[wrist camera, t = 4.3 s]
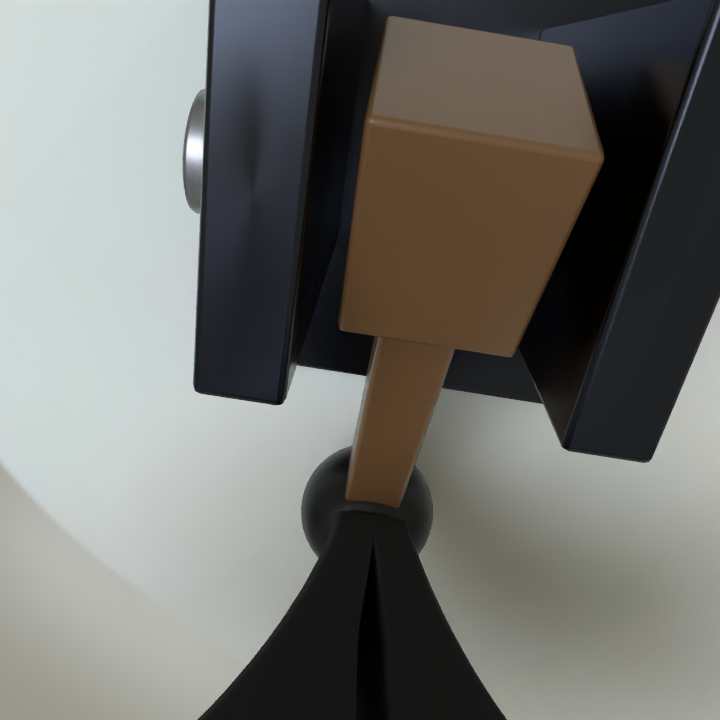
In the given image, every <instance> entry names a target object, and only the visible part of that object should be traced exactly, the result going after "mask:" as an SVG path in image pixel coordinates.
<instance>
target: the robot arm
mask: <svg viewBox="0 0 720 720" xmlns="http://www.w3.org/2000/svg"><path fill="white" fill-rule="evenodd" d="M198 720H507V719H506V718H505V717H504V715H503V714H502V712H501V711H500V709H499V708H498V706H497V705H496V703H495V702H494V701H493V699H492V698H491V696H490V694H489V693H488V691H487V690H486V688H485V687H484V685H483V683H482V682H481V680H480V679H479V677H478V676H477V674H476V672H475V671H474V669H473V667H472V666H471V664H470V662H469V660H468V659H467V657H466V655H465V654H464V652H463V650H462V648H461V646H460V644H459V643H458V641H457V639H456V637H455V635H454V633H453V631H452V630H451V628H450V626H449V624H448V622H447V620H446V618H445V616H444V614H443V612H442V609H441V607H440V605H439V603H438V601H437V599H436V597H435V594H434V592H433V590H432V588H431V586H430V583H429V581H428V579H427V576H426V574H425V571H424V569H423V566H422V564H421V561H420V559H419V556H418V553H417V551H416V548H415V545H414V542H413V539H412V536H411V533H410V529H409V525H408V524H407V523H406V521H405V520H403V519H396V518H390V517H383V516H377V515H370V514H364V513H357V512H350V511H344V510H341V511H339V512H338V513H336V514H335V516H334V522H333V525H332V528H331V531H330V534H329V537H328V539H327V542H326V544H325V546H324V548H323V550H322V553H321V555H320V557H319V559H318V561H317V563H316V564H315V566H314V568H313V570H312V572H311V574H310V575H309V577H308V579H307V581H306V583H305V584H304V586H303V588H302V589H301V591H300V593H299V594H298V596H297V597H296V599H295V600H294V602H293V603H292V605H291V607H290V608H289V610H288V611H287V613H286V614H285V616H284V617H283V619H282V620H281V622H280V623H279V625H278V626H277V627H276V629H275V630H274V632H273V633H272V634H271V636H270V637H269V638H268V640H267V641H266V642H265V644H264V645H263V646H262V647H261V649H260V650H259V651H258V653H257V654H256V655H255V656H254V658H253V659H252V660H251V661H250V663H249V664H248V665H247V666H246V667H245V668H244V670H243V671H242V672H241V673H240V674H239V676H238V677H237V678H236V679H235V680H234V681H233V683H232V684H231V685H230V686H229V687H228V688H227V689H226V691H225V692H224V693H223V694H222V695H221V696H220V697H219V698H218V699H217V700H216V701H215V703H214V704H213V705H212V706H211V707H210V708H209V709H208V710H207V711H206V712H205V713H204V714H203V715H202V716H201V717H200V718H199V719H198Z"/></svg>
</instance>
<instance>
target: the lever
mask: <svg viewBox="0 0 720 720" xmlns="http://www.w3.org/2000/svg"><path fill="white" fill-rule="evenodd" d="M603 162H604V151H603V148H602V144H601V141H600V137H599V134H598V130H597V127H596V123H595V119H594V116H593V112H592V109H591V105H590V102H589V98H588V95H587V91H586V88H585V84H584V80H583V77H582V73H581V70H580V66H579V63H578V59H577V56H576V52H575V49H574V48H572V47H571V46H567V45H561V44H555V43H549V42H543V41H537V40H532V39H526V38H520V37H514V36H508V35H502V34H496V33H490V32H484V31H478V30H472V29H466V28H461V27H455V26H449V25H443V24H437V23H431V22H425V21H419V20H413V19H407V18H401V17H395V16H390V17H387V18H386V20H385V22H384V26H383V31H382V36H381V41H380V46H379V51H378V55H377V60H376V65H375V70H374V75H373V80H372V85H371V90H370V95H369V100H368V105H367V110H366V115H365V120H364V128H363V135H362V143H361V150H360V158H359V166H358V173H357V181H356V188H355V196H354V204H353V211H352V219H351V226H350V234H349V242H348V249H347V257H346V265H345V272H344V280H343V287H342V295H341V303H340V310H339V318H338V326H339V329H340V330H342V331H346V332H352V333H359V334H365V335H371V336H374V341H373V346H372V351H371V356H370V361H369V366H368V371H367V376H366V381H365V386H364V391H363V396H362V401H361V406H360V411H359V416H358V421H357V426H356V431H355V436H354V441H353V446H350V447H347V448H344V449H341V450H339V451H337V452H336V453H334V454H332V455H331V456H329V457H328V458H327V459H325V460H324V461H323V462H322V463H321V464H320V465H319V466H318V467H317V469H316V470H315V471H314V472H313V474H312V476H311V477H310V479H309V481H308V483H307V485H306V488H305V491H304V495H303V499H302V506H301V516H302V525H303V529H304V533H305V536H306V539H307V541H308V543H309V545H310V546H311V548H312V550H313V551H314V553H315V554H316V555H317V556H318V558H319V557H320V555H321V553H322V550H323V548H324V546H325V544H326V542H327V539H328V537H329V534H330V531H331V528H332V525H333V522H334V516H335V514H336V513H338V512H339V511H341V510H344V511H350V512H357V513H364V514H370V515H377V516H383V517H390V518H396V519H403V520H405V521H406V523H407V524H408V525H409V529H410V533H411V536H412V539H413V542H414V545H415V548H416V551H417V553H418V554H419V553H420V552H421V550H422V548H423V547H424V545H425V544H426V541H427V539H428V537H429V534H430V530H431V526H432V519H433V504H432V498H431V494H430V491H429V488H428V485H427V483H426V481H425V479H424V477H423V475H422V474H421V473H420V471H419V470H418V469H417V467H416V466H415V462H416V459H417V457H418V454H419V451H420V448H421V445H422V442H423V439H424V437H425V434H426V431H427V428H428V425H429V422H430V420H431V417H432V414H433V411H434V408H435V405H436V402H437V400H438V397H439V394H440V391H441V388H442V385H443V382H444V380H445V377H446V374H447V371H448V368H449V365H450V362H451V360H452V357H453V354H454V351H455V349H460V350H466V351H472V352H478V353H485V354H491V355H497V356H504V357H512V356H513V355H514V354H515V352H516V350H517V348H518V346H519V344H520V342H521V339H522V337H523V335H524V333H525V331H526V329H527V326H528V324H529V322H530V320H531V318H532V316H533V313H534V311H535V309H536V307H537V305H538V303H539V301H540V298H541V296H542V294H543V292H544V290H545V288H546V285H547V283H548V281H549V279H550V277H551V275H552V272H553V270H554V268H555V266H556V264H557V262H558V259H559V257H560V255H561V253H562V251H563V249H564V247H565V244H566V242H567V240H568V238H569V236H570V234H571V231H572V229H573V227H574V225H575V223H576V221H577V218H578V216H579V214H580V212H581V210H582V208H583V205H584V203H585V201H586V199H587V197H588V195H589V193H590V190H591V188H592V186H593V184H594V182H595V180H596V177H597V175H598V173H599V171H600V169H601V167H602V164H603Z"/></svg>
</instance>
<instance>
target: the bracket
mask: <svg viewBox="0 0 720 720" xmlns="http://www.w3.org/2000/svg"><path fill="white" fill-rule="evenodd" d="M390 16H395V17H401V18H407V19H413V20H419V21H425V22H431V23H437V24H443V25H449V26H455V27H461V28H466V29H472V30H478V31H484V32H490V33H496V34H502V35H508V36H514V37H520V38H526V39H532V40H537V41H543V42H549V43H555V44H561V45H567V46H571V47H572V48H574V49H575V52H576V56H577V59H578V63H579V66H580V70H581V73H582V77H583V80H584V84H585V88H586V91H587V95H588V98H589V102H590V105H591V109H592V112H593V116H594V119H595V123H596V127H597V130H598V134H599V137H600V141H601V144H602V148H603V151H604V162H603V164H602V167H601V169H600V171H599V173H598V175H597V177H596V180H595V182H594V184H593V186H592V188H591V190H590V193H589V195H588V197H587V199H586V201H585V203H584V205H583V208H582V210H581V212H580V214H579V216H578V218H577V221H576V223H575V225H574V227H573V229H572V231H571V234H570V236H569V238H568V240H567V242H566V244H565V247H564V249H563V251H562V253H561V255H560V257H559V259H558V262H557V264H556V266H555V268H554V270H553V272H552V275H551V277H550V279H549V281H548V283H547V285H546V288H545V290H544V292H543V294H542V296H541V298H540V301H539V303H538V305H537V307H536V309H535V311H534V313H533V316H532V318H531V320H530V322H529V324H528V326H527V329H526V331H525V333H524V335H523V337H522V339H521V342H520V344H519V346H518V348H517V350H516V352H515V354H514V355H513V356H512V357H504V356H497V355H491V354H485V353H478V352H472V351H466V350H460V349H455V351H454V354H453V357H452V360H451V362H450V365H449V368H448V371H447V374H446V377H445V380H444V382H443V385H442V388H446V389H452V390H458V391H465V392H471V393H477V394H484V395H490V396H496V397H503V398H509V399H515V400H522V401H528V402H535V403H541V404H543V405H544V407H545V410H546V412H547V414H548V416H549V419H550V421H551V423H552V425H553V428H554V430H555V432H556V435H557V437H558V439H559V441H560V444H561V446H562V447H563V448H564V449H566V450H568V451H572V452H578V453H585V454H591V455H598V456H604V457H610V458H617V459H623V460H630V461H636V462H642V463H645V462H649V461H650V460H651V459H652V457H653V455H654V452H655V450H656V447H657V445H658V443H659V440H660V438H661V436H662V433H663V431H664V428H665V426H666V424H667V421H668V419H669V417H670V414H671V412H672V409H673V407H674V405H675V402H676V400H677V398H678V395H679V393H680V390H681V388H682V386H683V383H684V381H685V379H686V376H687V374H688V371H689V369H690V367H691V364H692V362H693V360H694V357H695V355H696V352H697V350H698V348H699V345H700V343H701V341H702V338H703V336H704V333H705V331H706V329H707V326H708V324H709V321H710V319H711V317H712V314H713V312H714V310H715V307H716V305H717V302H718V300H719V298H720V0H209V15H208V39H207V63H206V87H205V89H203V90H201V91H200V92H199V93H198V94H197V96H196V98H195V99H194V102H193V104H192V107H191V110H190V113H189V117H188V121H187V126H186V131H185V138H184V147H183V182H184V189H185V194H186V199H187V202H188V205H189V207H190V208H191V209H192V210H193V211H194V212H196V213H198V214H200V232H199V256H198V280H197V304H196V328H195V352H194V376H193V385H194V389H195V391H196V392H198V393H201V394H207V395H214V396H220V397H226V398H233V399H239V400H246V401H252V402H259V403H265V404H271V405H281V404H282V403H283V402H284V401H285V399H286V397H287V394H288V391H289V387H290V384H291V381H292V378H293V375H294V372H295V369H296V366H297V365H299V366H306V367H312V368H318V369H325V370H331V371H337V372H344V373H350V374H357V375H363V376H367V371H368V366H369V361H370V356H371V351H372V346H373V341H374V336H371V335H365V334H359V333H352V332H346V331H342V330H340V329H339V326H338V318H339V310H340V303H341V295H342V287H343V280H344V272H345V265H346V257H347V249H348V242H349V234H350V226H351V219H352V211H353V204H354V196H355V188H356V181H357V173H358V166H359V158H360V150H361V143H362V135H363V128H364V120H365V115H366V110H367V105H368V100H369V95H370V90H371V85H372V80H373V75H374V70H375V65H376V60H377V55H378V51H379V46H380V41H381V36H382V31H383V26H384V22H385V20H386V18H387V17H390Z"/></svg>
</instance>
